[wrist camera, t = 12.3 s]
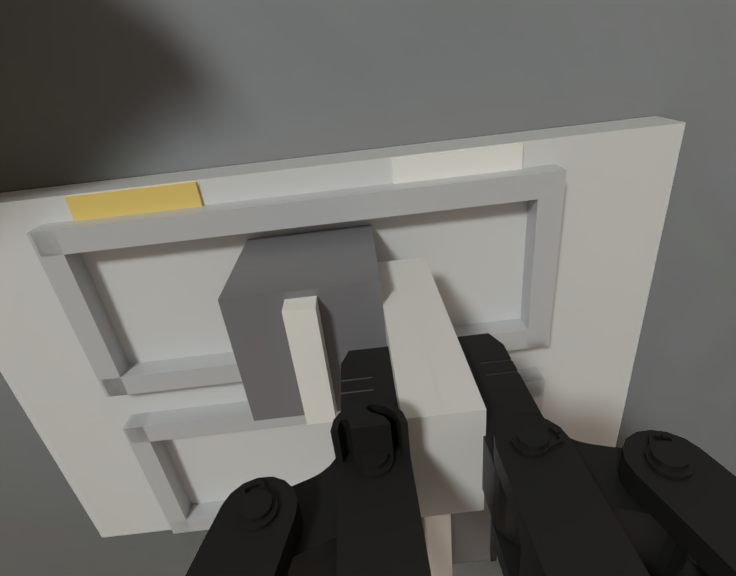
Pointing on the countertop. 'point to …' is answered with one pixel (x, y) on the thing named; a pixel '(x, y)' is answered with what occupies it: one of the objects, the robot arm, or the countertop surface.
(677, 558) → the robot arm
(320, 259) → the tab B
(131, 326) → the switch board
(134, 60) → the countertop surface
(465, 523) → the tab
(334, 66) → the countertop surface
